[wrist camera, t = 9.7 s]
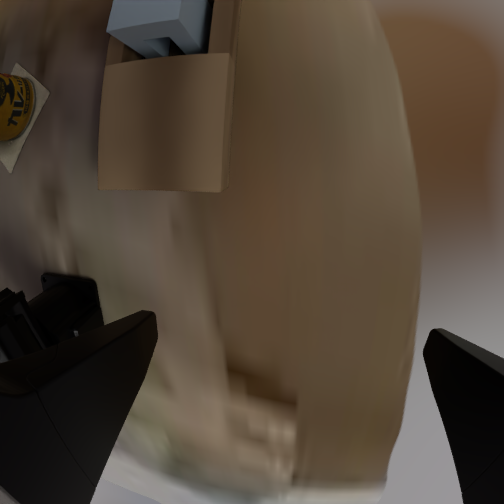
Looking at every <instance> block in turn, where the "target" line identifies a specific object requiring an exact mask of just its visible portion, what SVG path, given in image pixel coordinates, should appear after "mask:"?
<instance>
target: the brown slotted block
mask: <svg viewBox="0 0 504 504" xmlns="http://www.w3.org/2000/svg"><path fill="white" fill-rule="evenodd" d="M208 2H209V3H212V2H214V7H213V15H212V23H211V32H210V41H209V51H208V54H191V55H178V56H167V57H158V58H150V59H143V60H142V56H143V55H141V54H140V53H138V52H137V51H135V50H134V49H132V48H131V47H129V46H128V45H126V44H125V43H123V42H122V41H120V40H118V39H117V38H115V37H114V36H112V35H111V34H110V40H109V45H108V51H107V57H106V64H105V71H104V79H103V87H102V97H101V108H100V121H99V141H98V190H165V191H196V192H218V193H221V192H222V191H224V190H225V189H227V188H228V184H229V164H230V146H231V129H232V113H233V98H234V84H235V70H236V57H237V45H238V33H239V22H240V11H241V0H208Z"/></svg>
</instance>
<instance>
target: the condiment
mask: <svg viewBox="0 0 504 504" xmlns="http://www.w3.org/2000/svg"><path fill="white" fill-rule="evenodd" d="M49 93H50V92H49V91H48V90H47V89H46V88H45V87H44V86H43V85H41V83H39V82H38V81H37V80H36V79H35V78H34V77H33V76H32V75H30V74H29V73H28V72H27V71H26V70H25V69H24V68H22V67H21V66H20V65H19V64H18V63H16V64H15V66H14V68H13V70H12V72H11V74H10V75H9V74H6V73H4V74H1V73H0V161H1V162H2V163H3V164H4V165H5V166H6V168H7V170H8V171H9V172H10V173H12V171H13V167H14V165H15V163H16V161H17V157H18V155H19V153H20V151H21V149H22V146H23V144H24V142H25V140H26V138H27V136H28V134H29V132H30V131H31V129H32V126H33V124H34V122H35V120H36V119H37V116H38V115H39V113H40V111H41V109H42V107H43V105H44V104H45V102H46V100H47V98H48V96H49ZM11 141H13V142H12V143H11ZM9 143H10V145H8V144H9Z"/></svg>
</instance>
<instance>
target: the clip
mask: <svg viewBox="0 0 504 504" xmlns="http://www.w3.org/2000/svg"><path fill="white" fill-rule="evenodd" d="M212 14H213V10H212V8H211V6H210V4H209V2H208V0H114V1H113V5H112V9H111V13H110V17H109V21H108V26H107V30H106V32H107V33H109V34H111V35H112V36H114V37H115V38H117V39H118V40H120V41H122V42H123V43H125V44H126V45H128V46H129V47H131V48H132V49H134V50H135V51H137V52H138V53H140V54H141V55H143V56H144V57H145V58H147V59H150V58H158V57H167V56H168V55H169V48H170V41H171V39H172V40H173V41H174V42H175V43H176V44H177V46H178V47H179V48H180V49H181V50H182V51H183V52H184V53H185V54H186V55H191V54H208V46H209V37H210V29H211V21H212Z"/></svg>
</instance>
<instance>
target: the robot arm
mask: <svg viewBox="0 0 504 504" xmlns="http://www.w3.org/2000/svg"><path fill="white" fill-rule="evenodd" d="M45 278H46V279H45ZM41 282H42V287H43V292H42V293H41V294H39V295H38V296H36V297H35V298H34V299H32V300H31V301H29V302H28V303H27V301H26V299H25V295H24V293H23V291H20V292H18V293H16V294H15V292H12V291H11V290H10V289H8V288H6V289H4V290H2V291H1V292H0V504H90V502H91V500H92V497H93V495H94V492H95V489H96V487H97V484H98V482H99V480H100V477H101V475H102V472H103V470H104V468H105V465H106V463H107V461H108V458H109V456H110V454H111V451H112V449H113V447H114V445H115V442H116V440H117V438H118V435H119V433H120V431H121V429H122V427H123V424H124V422H125V420H126V418H127V415H128V413H129V411H130V409H131V407H132V405H133V402H134V400H135V398H136V396H137V394H138V392H139V390H140V387H141V385H142V383H143V381H144V379H145V376H146V373H147V370H148V367H149V364H150V361H151V358H152V355H153V352H154V349H155V346H156V343H157V339H158V331H157V321H156V315H155V313H154V312H152V311H146V310H141V311H139V312H136V313H134V314H132V315H129V316H127V317H124V318H122V319H119V320H117V321H114V322H112V323H109V324H107V325H104V322H103V316H102V311H101V307H100V302H99V296H98V290H97V285H96V283H95V282H94V281H92V280H86V279H79V278H73V277H67V276H61V275H55V274H49V273H44V274H43V275H41ZM90 285H91V286H92V288H91V287H90ZM423 357H424V361H425V364H426V368H427V372H428V376H429V380H430V384H431V388H432V391H433V394H434V398H435V400H436V403H437V406H438V409H439V412H440V415H441V418H442V421H443V424H444V428H445V431H446V434H447V438H448V441H449V444H450V448H451V452H452V455H453V459H454V463H455V467H456V471H457V475H458V479H459V483H460V488H461V492H462V499H463V503H464V504H504V358H501V357H500V356H498V355H495V354H493V353H491V352H489V351H487V350H485V349H483V348H481V347H479V346H477V345H475V344H473V343H471V342H469V341H467V340H465V339H463V338H461V337H459V336H457V335H455V334H453V333H450V332H448V331H447V330H444V329H442V328H438V329H432V330H431V331H430V333H429V336H428V338H427V341H426V344H425V346H424V349H423Z"/></svg>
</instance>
